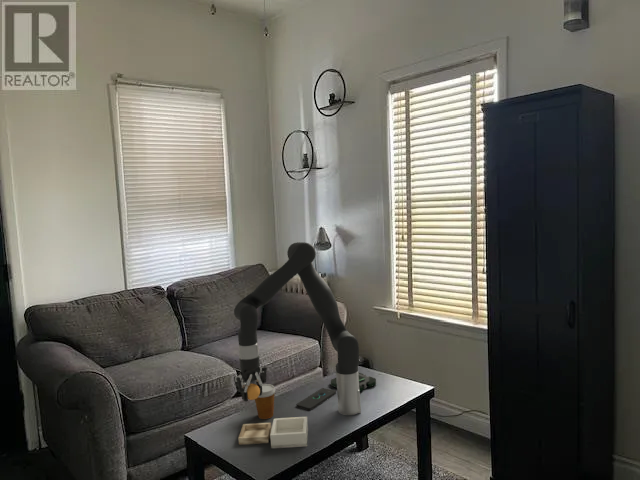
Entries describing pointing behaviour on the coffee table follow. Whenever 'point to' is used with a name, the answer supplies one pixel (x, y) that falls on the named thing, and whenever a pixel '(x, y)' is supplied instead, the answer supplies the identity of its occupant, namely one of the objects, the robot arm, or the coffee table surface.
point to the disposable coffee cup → (266, 402)
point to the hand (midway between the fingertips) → (252, 397)
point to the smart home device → (316, 399)
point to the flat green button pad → (363, 381)
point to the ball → (253, 391)
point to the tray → (255, 433)
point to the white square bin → (289, 432)
